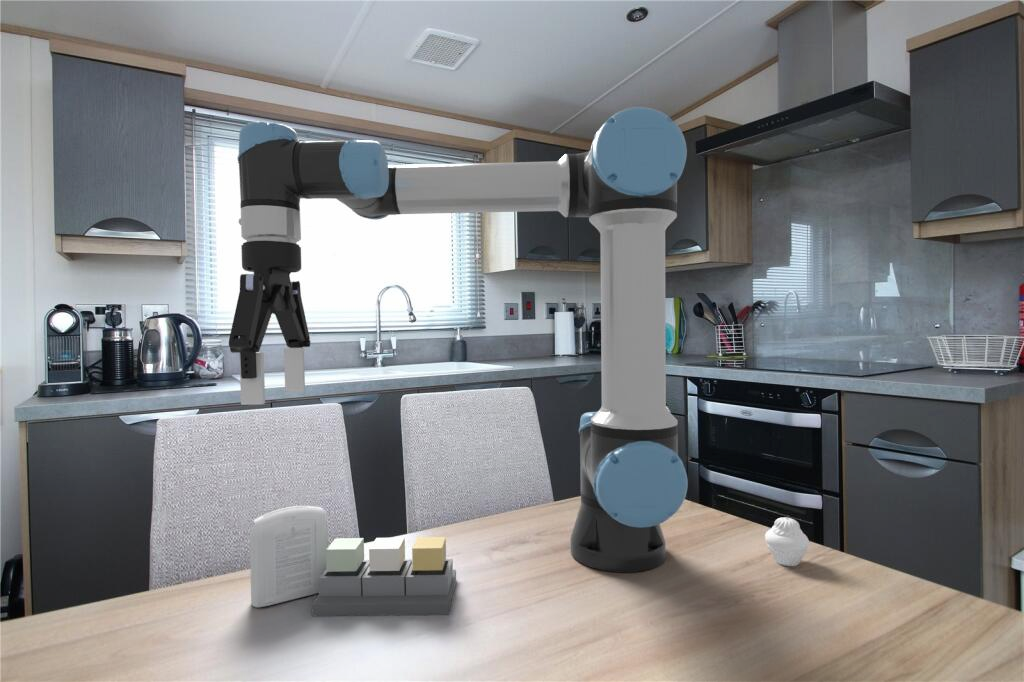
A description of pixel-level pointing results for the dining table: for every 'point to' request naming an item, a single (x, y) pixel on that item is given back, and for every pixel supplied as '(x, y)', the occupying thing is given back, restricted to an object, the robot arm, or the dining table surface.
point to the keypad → (385, 591)
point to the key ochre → (429, 553)
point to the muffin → (787, 542)
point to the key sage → (345, 554)
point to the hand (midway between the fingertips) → (275, 397)
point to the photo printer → (287, 554)
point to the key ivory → (387, 554)
